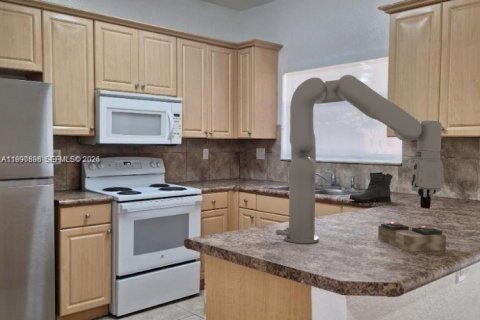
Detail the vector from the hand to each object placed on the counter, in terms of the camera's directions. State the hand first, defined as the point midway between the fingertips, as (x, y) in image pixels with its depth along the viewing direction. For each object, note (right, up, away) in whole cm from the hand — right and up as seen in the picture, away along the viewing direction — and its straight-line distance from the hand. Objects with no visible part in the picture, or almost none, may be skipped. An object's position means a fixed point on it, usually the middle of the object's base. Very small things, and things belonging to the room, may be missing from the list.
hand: (425, 208), depth 151 cm
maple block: (-4, -14, +4) cm, 15 cm away
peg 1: (-8, -13, +8) cm, 17 cm away
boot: (+18, -10, +125) cm, 126 cm away
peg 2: (+1, -14, 0) cm, 14 cm away
